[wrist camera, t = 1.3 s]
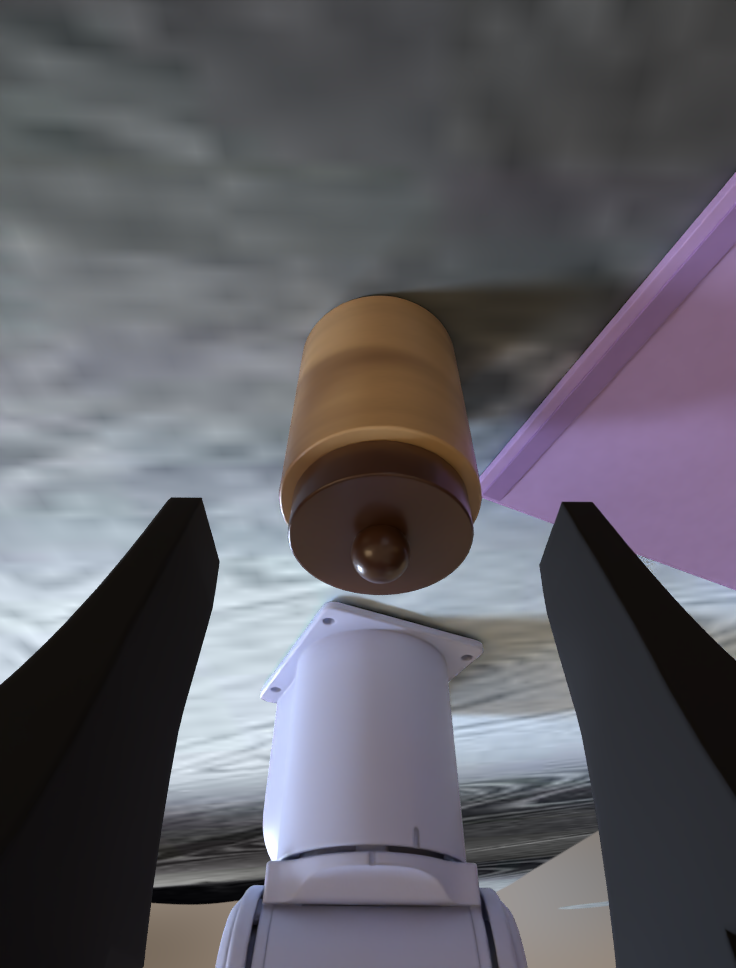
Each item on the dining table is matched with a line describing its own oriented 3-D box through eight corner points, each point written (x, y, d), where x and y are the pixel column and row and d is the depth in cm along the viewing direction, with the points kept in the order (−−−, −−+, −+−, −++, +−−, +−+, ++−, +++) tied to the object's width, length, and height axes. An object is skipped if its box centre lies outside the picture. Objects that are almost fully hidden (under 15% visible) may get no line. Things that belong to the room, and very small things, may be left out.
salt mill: (409, 445, 18) (424, 655, 13) (281, 396, 17) (237, 607, 12) (485, 335, 16) (544, 543, 10) (338, 266, 14) (317, 464, 9)
